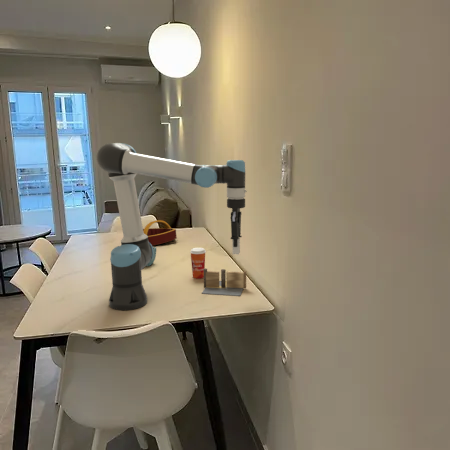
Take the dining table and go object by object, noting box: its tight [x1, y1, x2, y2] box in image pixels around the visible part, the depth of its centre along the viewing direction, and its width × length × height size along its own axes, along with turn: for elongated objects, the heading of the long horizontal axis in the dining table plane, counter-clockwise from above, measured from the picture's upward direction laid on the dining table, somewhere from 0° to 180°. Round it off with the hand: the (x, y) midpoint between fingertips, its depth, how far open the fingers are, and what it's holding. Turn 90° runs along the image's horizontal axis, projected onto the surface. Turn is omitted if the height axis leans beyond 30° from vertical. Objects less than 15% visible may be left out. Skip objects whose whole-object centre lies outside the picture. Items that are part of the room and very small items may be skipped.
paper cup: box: [189, 247, 207, 280], centre depth 192 cm, size 8×8×14 cm
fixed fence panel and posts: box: [203, 268, 227, 288], centre depth 178 cm, size 2×10×8 cm, turn 79°
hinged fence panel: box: [226, 270, 247, 289], centre depth 176 cm, size 9×2×8 cm, turn 79°
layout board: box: [201, 280, 244, 297], centre depth 178 cm, size 17×17×1 cm
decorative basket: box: [143, 219, 178, 246], centre depth 264 cm, size 34×29×15 cm
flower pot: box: [146, 246, 157, 267], centre depth 213 cm, size 9×9×9 cm
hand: (236, 253), depth 166 cm, fingers closed
